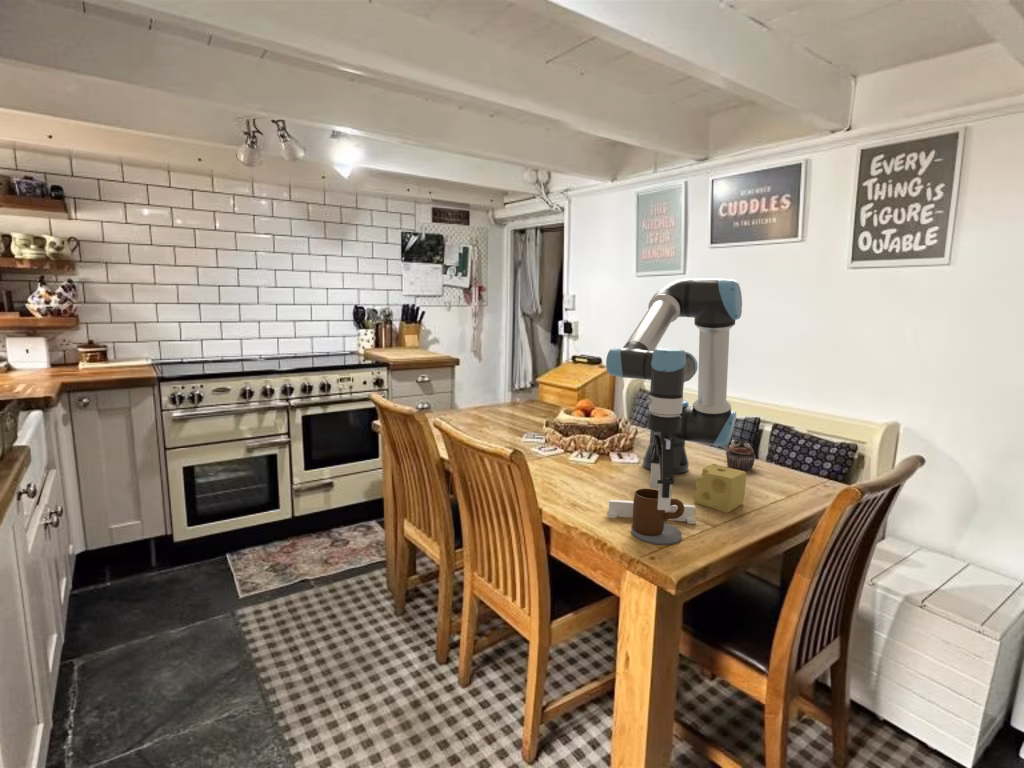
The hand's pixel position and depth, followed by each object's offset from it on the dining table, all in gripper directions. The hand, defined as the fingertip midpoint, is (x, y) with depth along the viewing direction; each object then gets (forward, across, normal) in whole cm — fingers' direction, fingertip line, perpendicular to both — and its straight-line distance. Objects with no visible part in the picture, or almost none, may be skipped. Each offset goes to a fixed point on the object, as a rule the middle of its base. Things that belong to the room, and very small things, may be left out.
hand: (659, 498), depth 133 cm
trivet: (+9, +1, 0) cm, 9 cm away
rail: (+9, -9, 0) cm, 13 cm away
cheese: (+10, -23, +21) cm, 33 cm away
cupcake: (+11, -60, +37) cm, 71 cm away
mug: (+8, +1, 0) cm, 8 cm away
